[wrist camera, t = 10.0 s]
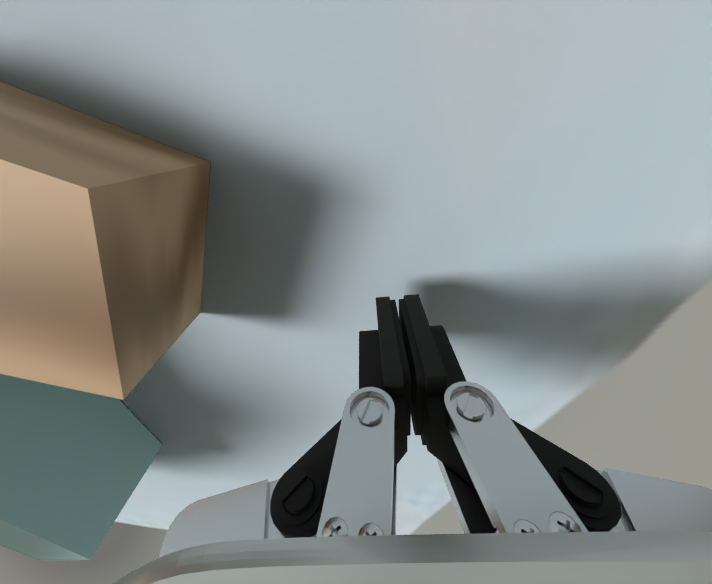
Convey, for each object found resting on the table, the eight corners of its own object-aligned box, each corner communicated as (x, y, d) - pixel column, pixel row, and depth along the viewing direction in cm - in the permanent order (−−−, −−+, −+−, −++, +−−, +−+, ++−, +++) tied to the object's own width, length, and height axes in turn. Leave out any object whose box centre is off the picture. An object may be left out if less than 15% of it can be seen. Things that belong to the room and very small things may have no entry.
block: (-104, 39, 8) (-698, -78, 3) (213, 161, 9) (87, 188, 5) (-16, 247, 11) (-250, 321, 7) (202, 309, 13) (123, 399, 8)
